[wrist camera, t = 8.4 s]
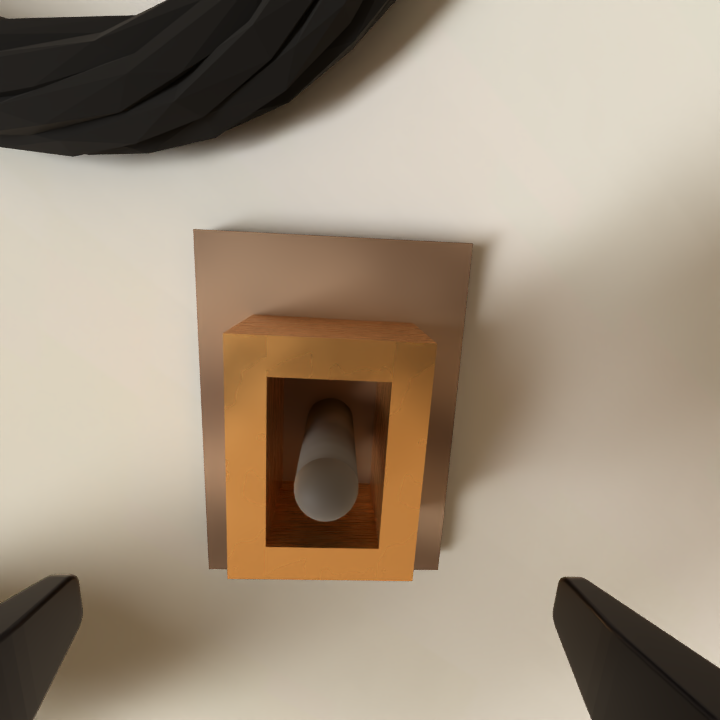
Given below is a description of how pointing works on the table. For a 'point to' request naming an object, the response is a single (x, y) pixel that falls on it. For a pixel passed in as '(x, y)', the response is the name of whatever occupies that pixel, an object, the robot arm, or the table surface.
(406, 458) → the hollow wooden frame
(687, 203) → the table surface
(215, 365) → the plate
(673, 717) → the robot arm
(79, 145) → the cable lock
